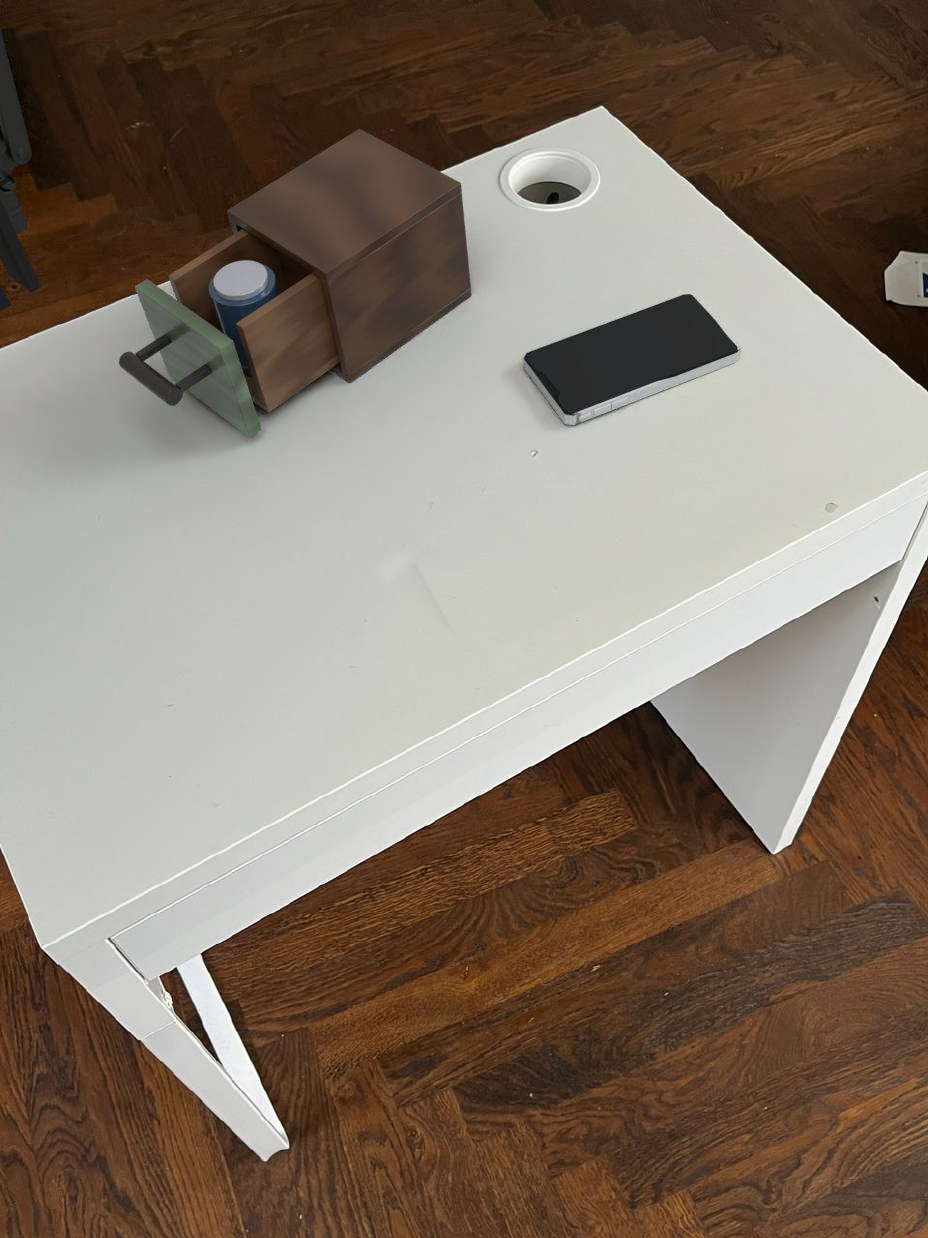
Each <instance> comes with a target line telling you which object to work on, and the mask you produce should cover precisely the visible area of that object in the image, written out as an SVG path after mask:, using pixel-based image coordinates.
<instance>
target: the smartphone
mask: <svg viewBox="0 0 928 1238" xmlns="http://www.w3.org/2000/svg"><path fill="white" fill-rule="evenodd" d="M741 351H742V348H741V346H740V345H739V344H738V342H736V341H735V340H734V338H733V337H732V336H731V335H730V334H729V333H728V332H727V331H726V330H725V329H724V328H723V326H721V324H719V322H718V321H717V320H716V319H715V318H714V316H713V315H712V314H711V313H710V312H709V311H708V310H707V309H706V308H705V307H704V306H703V304H701V302H700V301H699V300H698V299H697V298H696V297H695V296H694V295H693V294H692V293H685V294H681V295H678V296H676V297H673V298H669V299H668V300H665V301H662V302H660V303H657V304H654V305H652V306H651V305H650V306H648V307H646V308H643V309H641V310H638V311H636V312H633V313H630V314H627V315H624V316H621V317H619V318H617V319H614V320H611V321H608V322H606V323H603V324H600V325H597V326H595V327H592V328H589V329H586V330H584V331H581V332H579V333H576V334H572V335H571V336H568V337H565V338H562V339H560V340H557V341H553V342H551V343H549V344H546V345H544V346H540V347H538V348H536V349H533V350H530V351H528V352H526V353H525V354H524V356H523V358H522V359H523V361H522V362H523V369H524V370H525V372H526V374H527V375H528V376H529V377H530V379H531V380H532V382H534V383H535V386H536V387H537V388H538V389H539V391H540V392H541V394H542V395H543V396H544V397H545V399H546V400H547V402H548V403H549V405H550V406H551V407H552V408H553V410H554V411H555V413H556V414H557V415H558V417H559V418H560V419H561V421H562V423H564V425H570V426H575V425H578V424H580V423H583V422H585V421H588V420H590V419H594V418H596V417H598V416H602V415H604V414H606V413H609V412H611V411H615V410H616V409H619V408H621V407H624V406H627V405H629V404H632V403H634V402H637V401H639V400H642V399H645V398H648V397H650V396H653V395H655V394H658V393H660V392H663V391H665V390H668V389H671V388H673V387H676V386H678V385H681V384H683V383H686V382H689V381H692V380H695V379H696V378H699V377H702V376H704V375H707V374H709V373H712V372H714V371H717V370H720V369H722V368H725V367H727V366H731V365H732V364H736V363H737V362H738V360H740V357H741Z"/></svg>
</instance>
